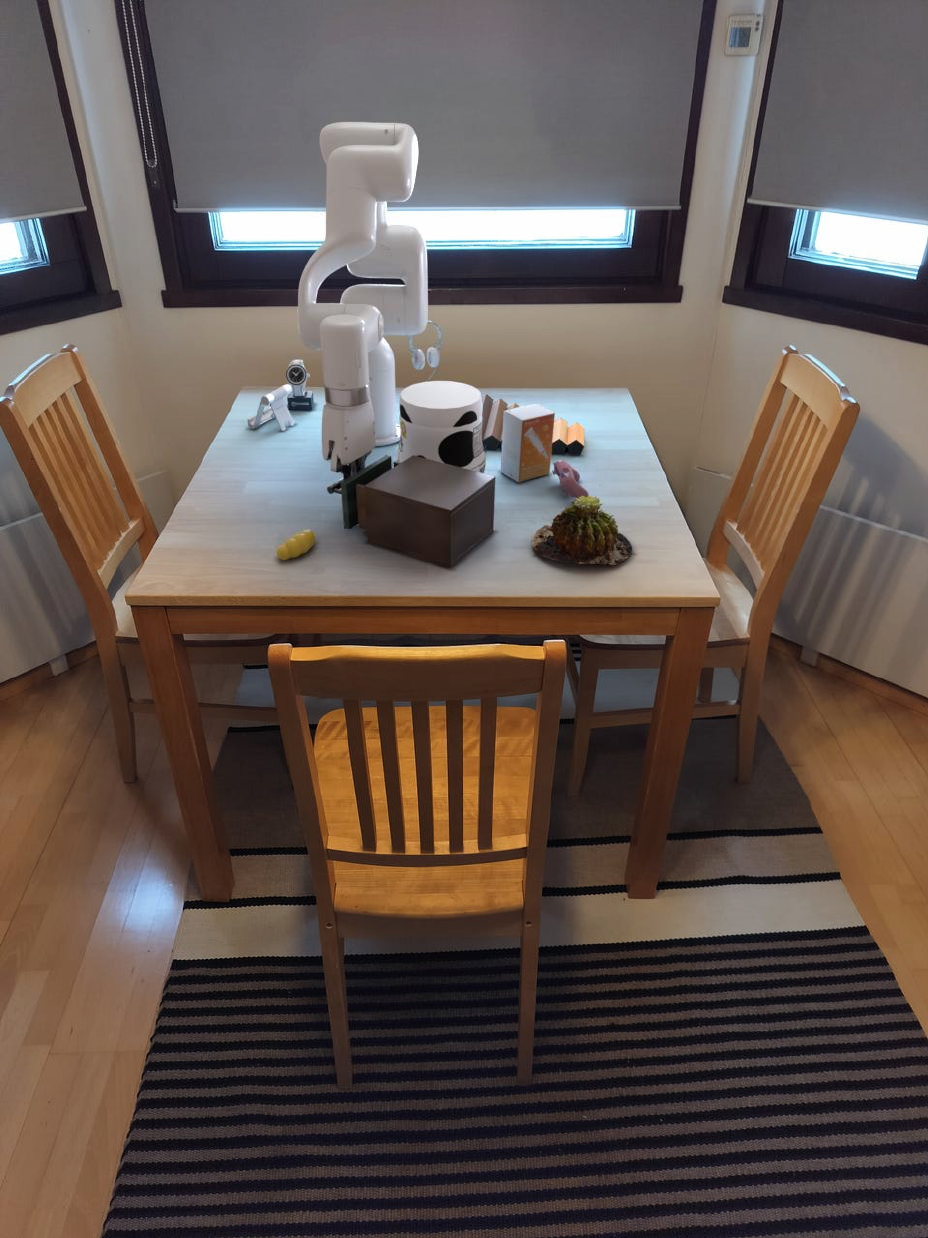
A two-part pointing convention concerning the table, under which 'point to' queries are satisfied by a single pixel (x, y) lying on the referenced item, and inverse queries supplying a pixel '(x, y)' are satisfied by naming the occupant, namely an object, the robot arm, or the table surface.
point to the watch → (298, 387)
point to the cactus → (582, 536)
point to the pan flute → (495, 411)
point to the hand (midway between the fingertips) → (354, 492)
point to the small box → (527, 442)
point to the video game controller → (569, 479)
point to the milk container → (442, 424)
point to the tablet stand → (273, 409)
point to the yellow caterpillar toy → (296, 545)
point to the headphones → (432, 353)
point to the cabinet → (430, 510)
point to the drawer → (359, 491)
